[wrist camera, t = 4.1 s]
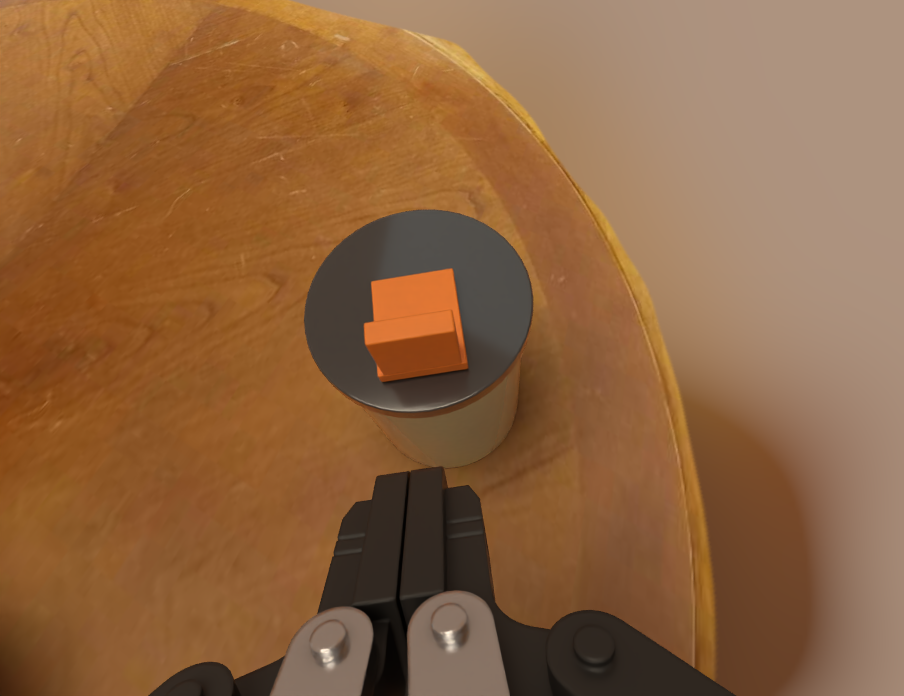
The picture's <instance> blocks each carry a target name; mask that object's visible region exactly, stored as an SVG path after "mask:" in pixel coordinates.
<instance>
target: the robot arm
mask: <svg viewBox="0 0 904 696" xmlns="http://www.w3.org/2000/svg"><path fill="white" fill-rule="evenodd" d="M149 696H736V695H734V694H733V693H731V692H729V691H728V690H727V689H725V688H724V687H722V686H720V685H719V684H717V683H716V682H714V681H713V680H711V679H710V678H708V677H707V676H705V675H704V674H702V673H701V672H699V671H698V670H696V669H695V668H693V667H692V666H690V665H689V664H687V663H686V662H684V661H683V660H681V659H680V658H678V657H677V656H675V655H674V654H672V653H671V652H669V651H668V650H666V649H665V648H663V647H662V646H660V645H659V644H657V643H656V642H654V641H653V640H651V639H650V638H648V637H646V636H645V635H643V634H642V633H640V632H639V631H637V630H636V629H634V628H633V627H631V626H630V625H628V624H627V623H625V622H624V621H622V620H621V619H619V618H617V617H615V616H613V615H611V614H608V613H605V612H601V611H594V610H582V611H577V612H573V613H570V614H568V615H566V616H564V617H562V618H561V619H560V620H559V621H557V622H556V623H555V624H554V626H553V627H552V628H551V630H550V629H544V628H538V627H532V626H528V625H524V624H521V623H519V622H516V621H514V620H513V619H511V618H509V617H508V616H507V615H505V614H504V613H503V612H502V611H501V610H500V609H499V607H498V606H497V604H496V603H495V596H494V589H493V581H492V574H491V566H490V558H489V551H488V545H487V539H486V533H485V527H484V521H483V515H482V509H481V503H480V498H479V497H478V496H477V495H476V494H475V492H474V491H473V490H472V489H471V488H470V486H469V485H466V486H459V487H453V488H448V486H447V481H446V476H445V471H444V468H443V466H439V467H432V468H426V469H419V470H413V471H411V473H410V472H409V471H407V472H400V473H394V474H387V475H380V476H377V477H376V481H375V486H374V491H373V496H372V500H367V501H360V502H356V503H355V504H354V505H353V507H352V508H351V509H350V510H349V512H348V513H347V514H346V515H345V517H344V518H343V519H342V523H341V527H340V531H339V534H338V541H337V542H336V546H335V549H334V557H332V561H331V564H330V568H329V572H328V576H327V579H326V583H325V587H324V590H323V594H322V598H321V602H320V605H319V609H318V613H317V615H315V616H314V617H312V618H311V619H310V620H308V621H307V622H306V623H305V624H304V625H303V626H302V627H301V628H300V629H299V630H298V631H297V632H296V634H295V635H294V637H293V638H292V640H291V642H290V644H289V646H288V649H287V652H286V654H285V656H284V657H282V658H280V659H279V660H277V661H275V662H273V663H271V664H269V665H267V666H264V667H262V668H260V669H258V670H255V671H253V672H251V673H248V674H246V675H244V676H242V677H239V678H237V679H235V680H234V678H233V676H232V674H231V671H230V670H229V669H228V668H227V667H226V666H224V665H223V664H220V663H217V662H204V663H199V664H195V665H193V666H190V667H188V668H186V669H184V670H182V671H180V672H178V673H176V674H175V675H173V676H172V677H170V678H169V679H168V680H167V681H165V682H164V683H163V684H162V685H160V686H159V687H158V688H157V689H156V690H154V691H153V692H152V693H151V694H150V695H149Z"/></svg>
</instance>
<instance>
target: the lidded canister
mask: <svg viewBox="0 0 904 696" xmlns="http://www.w3.org/2000/svg"><path fill="white" fill-rule="evenodd" d="M451 268H452V269H453V272H454V278H455V284H456V291H457V297H458V304H459V310H460V316H461V323H462V329H463V336H464V342H465V349H466V355H467V362H468V369H463V370H457V371H450V372H444V373H437V374H431V375H425V376H418V377H412V378H405V379H399V380H392V381H386V382H381V381H380V379H379V377H378V373H377V364H376V362H375V360H374V359H373V357H372V355H371V354H370V352H369V350H368V349H367V347H366V345H365V339H364V323H368V322H374V317H373V303H372V289H371V282H372V281H377V280H383V279H389V278H395V277H401V276H408V275H414V274H420V273H426V272H432V271H438V270H445V269H451ZM532 316H533V292H532V286H531V282H530V278H529V275H528V272H527V270H526V268H525V266H524V263H523V261H522V259H521V258H520V256H519V255H518V254H517V252H516V251H515V249H514V248H513V247H512V246H511V245H510V244H509V242H508V241H507V240H506V239H505V238H504V237H502V236H501V235H500V234H499V233H498V232H496V231H495V230H494V229H492V228H491V227H489V226H487V225H486V224H484V223H482V222H480V221H478V220H476V219H474V218H471V217H468V216H465V215H462V214H459V213H454V212H449V211H442V210H413V211H405V212H401V213H396V214H392V215H389V216H386V217H383V218H380V219H378V220H375V221H373V222H371V223H369V224H367V225H365V226H363V227H362V228H360V229H358V230H356V231H355V232H354V233H352V234H351V235H349V236H348V237H347V238H345V239H344V240H343V241H342V242H341V243H340V244H339V245H338V246H336V247H335V248H334V249H333V251H332V252H331V253H330V254H329V255H328V256H327V258H326V259H325V260H324V262H323V263H322V265H321V266H320V268H319V269H318V271H317V273H316V275H315V277H314V279H313V281H312V283H311V286H310V289H309V292H308V295H307V300H306V304H305V315H304V325H305V335H306V339H307V343H308V347H309V350H310V352H311V355H312V357H313V359H314V361H315V363H316V364H317V366H318V368H319V369H320V371H321V372H322V373H323V374H324V376H325V377H326V378H327V379H328V381H329V382H330V383H331V384H332V385H333V386H334V387H335V388H336V389H337V390H338V391H339V392H340V393H342V394H343V395H344V396H345V397H346V398H348V399H349V400H351V401H352V402H354V403H355V404H357V405H359V406H361V407H362V408H363V409H364V410H365V411H366V413H367V414H368V415H369V416H370V417H371V419H372V420H373V421H374V422H375V423H376V424H377V426H378V427H379V428H380V429H381V430H382V432H383V433H384V434H385V435H386V436H387V437H388V439H389V440H390V441H391V442H392V443H393V445H394V446H395V447H396V448H397V449H398V450H399V451H400V452H402V453H403V454H404V455H406V456H407V457H409V458H410V459H412V460H414V461H416V462H418V463H421V464H424V465H427V466H431V467H439V466H443V468H455V467H460V466H465V465H468V464H471V463H474V462H476V461H478V460H480V459H482V458H484V457H485V456H487V455H488V454H489V453H491V452H492V451H493V450H494V449H495V448H496V447H498V446H499V444H500V443H501V442H502V441H503V440H504V438H505V437H506V435H507V434H508V432H509V431H510V428H511V426H512V424H513V422H514V418H515V415H516V410H517V403H518V391H519V379H520V367H521V355H522V353H523V351H524V349H525V346H526V344H527V341H528V337H529V334H530V330H531V323H532Z"/></svg>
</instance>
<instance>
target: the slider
mask: <svg viewBox="0 0 904 696" xmlns="http://www.w3.org/2000/svg"><path fill="white" fill-rule="evenodd" d="M371 289H372V303H373V317H374V322H368V323H364V339H365V345H366V347H367V349H368V350H369V352H370V354H371V355H372V357H373V359H374V360H375V362H376V364H377V373H378V377H379V379H380V381H381V382H386V381H392V380H399V379H405V378H412V377H418V376H425V375H431V374H437V373H444V372H450V371H457V370H463V369H468V362H467V355H466V349H465V342H464V336H463V329H462V323H461V316H460V310H459V304H458V297H457V291H456V284H455V278H454V272H453V269H452V268H451V269H445V270H438V271H432V272H426V273H420V274H414V275H408V276H401V277H395V278H389V279H383V280H377V281H372V282H371Z"/></svg>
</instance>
